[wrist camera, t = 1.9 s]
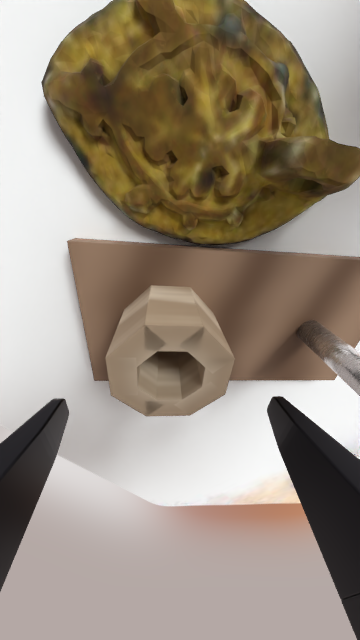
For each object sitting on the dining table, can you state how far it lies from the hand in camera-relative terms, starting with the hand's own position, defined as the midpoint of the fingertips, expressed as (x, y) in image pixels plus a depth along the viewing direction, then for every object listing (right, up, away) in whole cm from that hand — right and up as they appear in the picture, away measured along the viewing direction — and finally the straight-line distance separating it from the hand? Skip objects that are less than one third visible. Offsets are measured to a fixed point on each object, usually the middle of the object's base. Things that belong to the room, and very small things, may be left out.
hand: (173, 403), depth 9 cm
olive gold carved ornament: (+1, +13, +2) cm, 13 cm away
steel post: (+10, +3, +7) cm, 13 cm away
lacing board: (+4, +4, +7) cm, 9 cm away
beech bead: (-1, +3, +6) cm, 7 cm away
